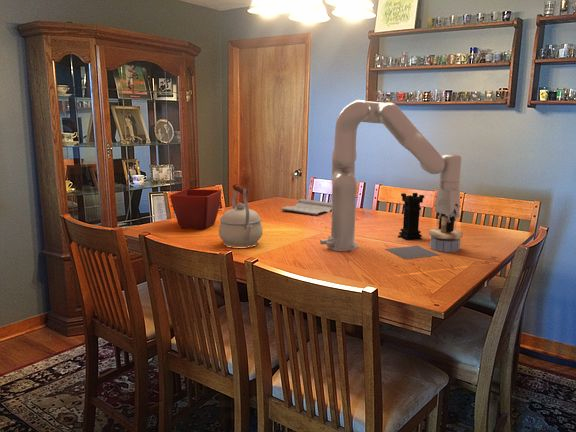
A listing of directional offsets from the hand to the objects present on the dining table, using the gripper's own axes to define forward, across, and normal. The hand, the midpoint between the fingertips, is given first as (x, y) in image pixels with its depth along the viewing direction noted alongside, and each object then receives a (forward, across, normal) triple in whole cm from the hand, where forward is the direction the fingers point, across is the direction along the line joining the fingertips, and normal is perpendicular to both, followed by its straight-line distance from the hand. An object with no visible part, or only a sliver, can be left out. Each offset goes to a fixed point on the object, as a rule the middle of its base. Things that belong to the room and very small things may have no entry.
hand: (445, 229), depth 200 cm
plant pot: (+9, -76, -87) cm, 116 cm away
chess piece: (+9, -20, -3) cm, 22 cm away
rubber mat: (+8, 0, -16) cm, 18 cm away
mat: (+9, -94, -20) cm, 97 cm away
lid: (+2, 0, 0) cm, 2 cm away
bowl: (+8, 0, 0) cm, 8 cm away
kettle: (+9, -35, -76) cm, 84 cm away
